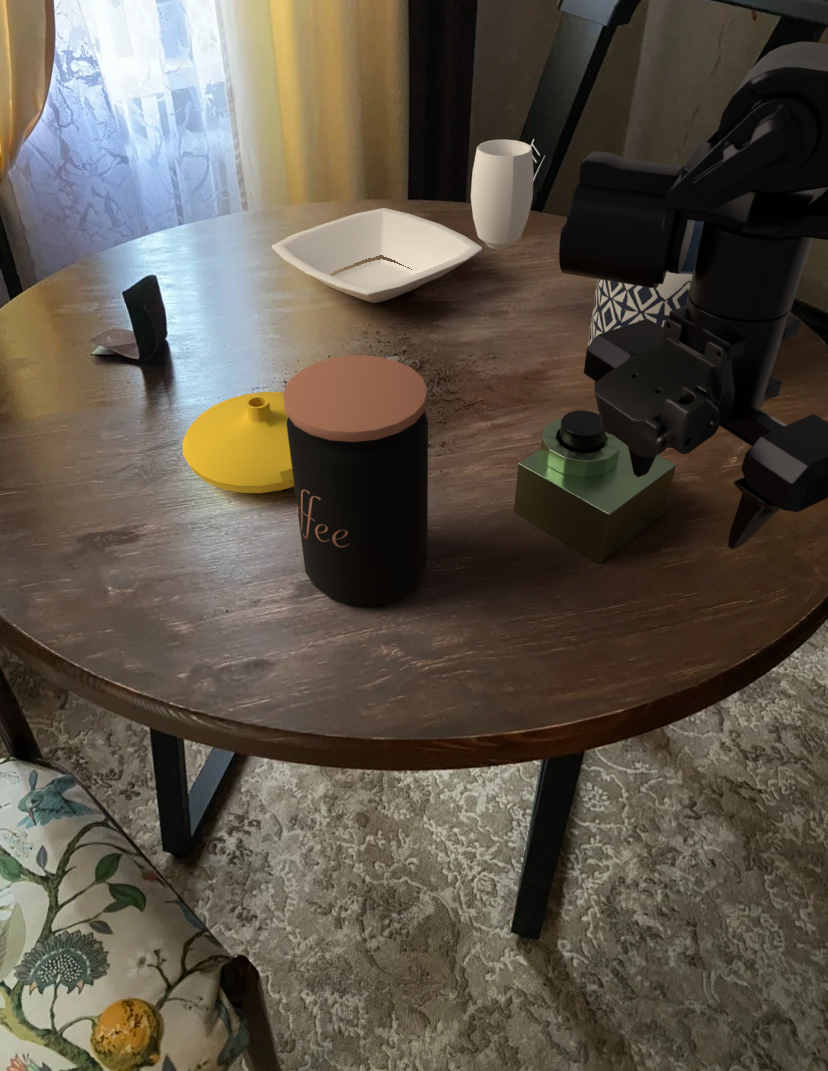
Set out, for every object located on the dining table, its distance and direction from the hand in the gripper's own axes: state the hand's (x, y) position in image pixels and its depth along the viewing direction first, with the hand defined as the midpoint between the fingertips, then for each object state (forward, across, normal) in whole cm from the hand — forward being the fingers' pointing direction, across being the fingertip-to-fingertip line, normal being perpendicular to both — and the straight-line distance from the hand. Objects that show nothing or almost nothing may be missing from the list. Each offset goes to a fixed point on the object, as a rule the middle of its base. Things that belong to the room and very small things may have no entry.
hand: (685, 508), depth 59 cm
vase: (+13, -38, -18) cm, 44 cm away
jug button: (+6, -17, +5) cm, 18 cm away
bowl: (+13, -68, +11) cm, 70 cm away
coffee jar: (+13, -19, -16) cm, 28 cm away
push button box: (+13, -15, +5) cm, 20 cm away
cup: (+13, -52, +20) cm, 57 cm away
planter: (+13, -33, +30) cm, 46 cm away
